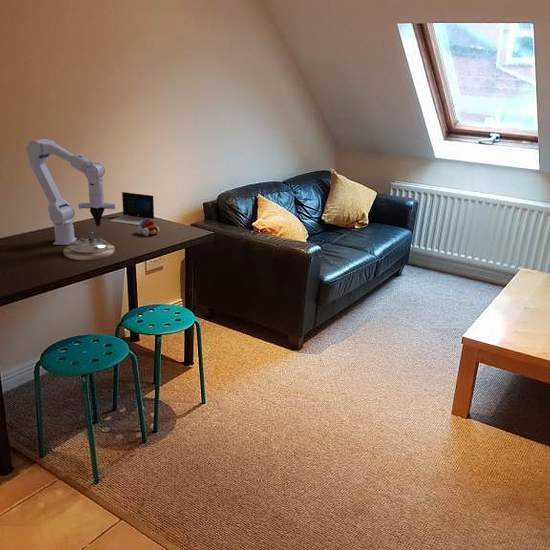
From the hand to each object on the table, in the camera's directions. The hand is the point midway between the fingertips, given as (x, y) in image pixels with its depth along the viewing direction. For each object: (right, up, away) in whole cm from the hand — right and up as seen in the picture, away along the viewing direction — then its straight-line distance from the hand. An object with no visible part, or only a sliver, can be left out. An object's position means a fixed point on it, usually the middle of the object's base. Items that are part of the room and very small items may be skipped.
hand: (98, 225), depth 230 cm
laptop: (+2, +6, +45) cm, 46 cm away
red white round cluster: (+15, -2, +24) cm, 29 cm away
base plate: (-2, -12, -5) cm, 13 cm away
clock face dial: (-2, -10, -5) cm, 11 cm away
